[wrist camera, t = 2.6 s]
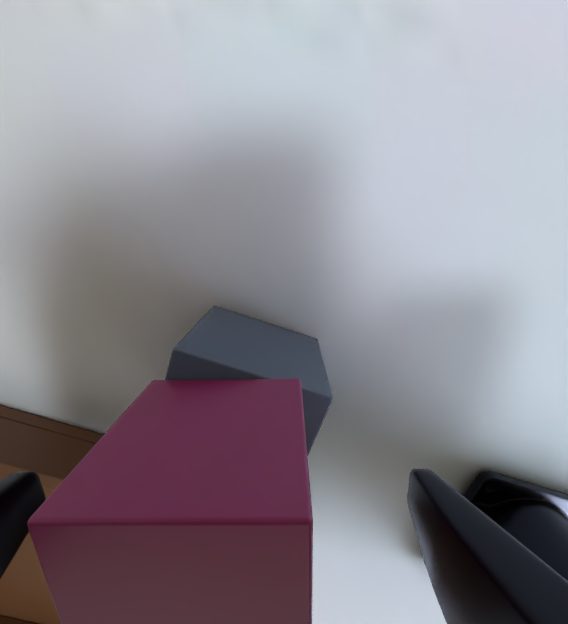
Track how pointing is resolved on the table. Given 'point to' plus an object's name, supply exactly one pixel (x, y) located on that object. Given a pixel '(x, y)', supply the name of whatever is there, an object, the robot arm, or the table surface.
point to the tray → (52, 471)
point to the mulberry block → (187, 511)
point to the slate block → (254, 359)
